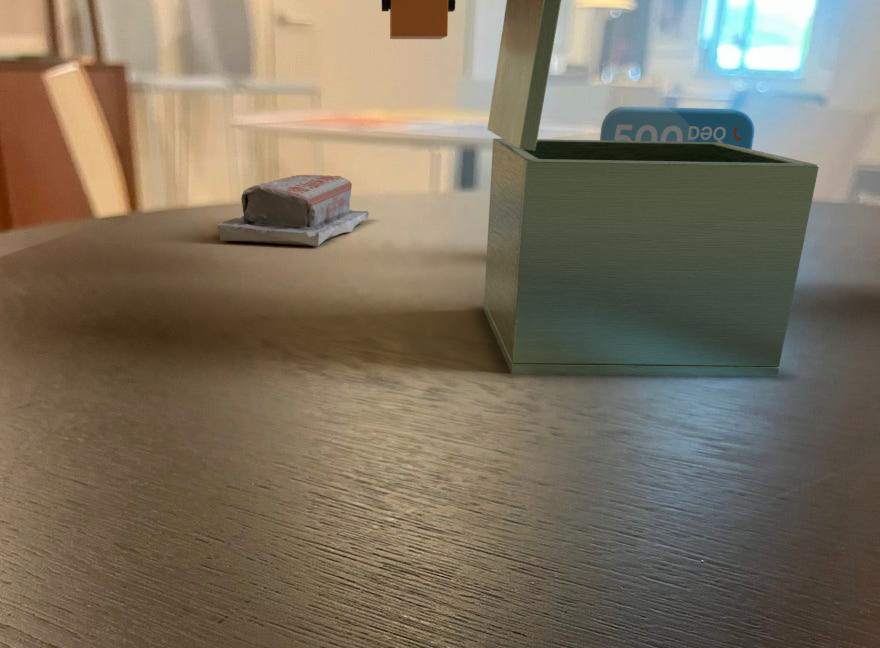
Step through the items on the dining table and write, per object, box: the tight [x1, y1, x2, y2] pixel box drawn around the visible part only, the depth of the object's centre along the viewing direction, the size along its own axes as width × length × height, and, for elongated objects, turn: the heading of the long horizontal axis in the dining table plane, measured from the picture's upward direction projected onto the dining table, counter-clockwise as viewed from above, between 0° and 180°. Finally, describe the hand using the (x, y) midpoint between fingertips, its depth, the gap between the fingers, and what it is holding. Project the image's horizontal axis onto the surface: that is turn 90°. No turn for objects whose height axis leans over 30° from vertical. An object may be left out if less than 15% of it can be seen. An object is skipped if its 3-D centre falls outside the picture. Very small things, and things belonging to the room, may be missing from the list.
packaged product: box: [216, 174, 370, 247], centre depth 100 cm, size 18×5×10 cm
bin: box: [483, 138, 820, 378], centre depth 60 cm, size 15×17×11 cm
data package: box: [599, 106, 755, 150], centre depth 86 cm, size 12×4×12 cm, turn 82°
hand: (417, 7), depth 75 cm, fingers closed on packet, 4 cm apart
